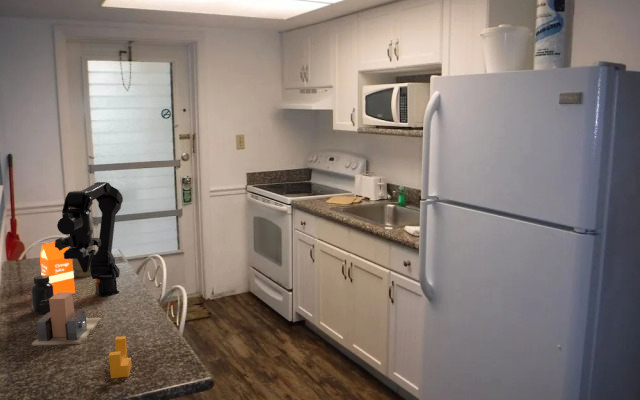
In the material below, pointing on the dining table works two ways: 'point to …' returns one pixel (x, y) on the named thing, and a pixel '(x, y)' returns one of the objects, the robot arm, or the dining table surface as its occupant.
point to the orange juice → (57, 268)
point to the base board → (62, 340)
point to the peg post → (61, 312)
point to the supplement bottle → (41, 294)
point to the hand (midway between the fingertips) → (85, 272)
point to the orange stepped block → (120, 359)
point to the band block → (73, 326)
